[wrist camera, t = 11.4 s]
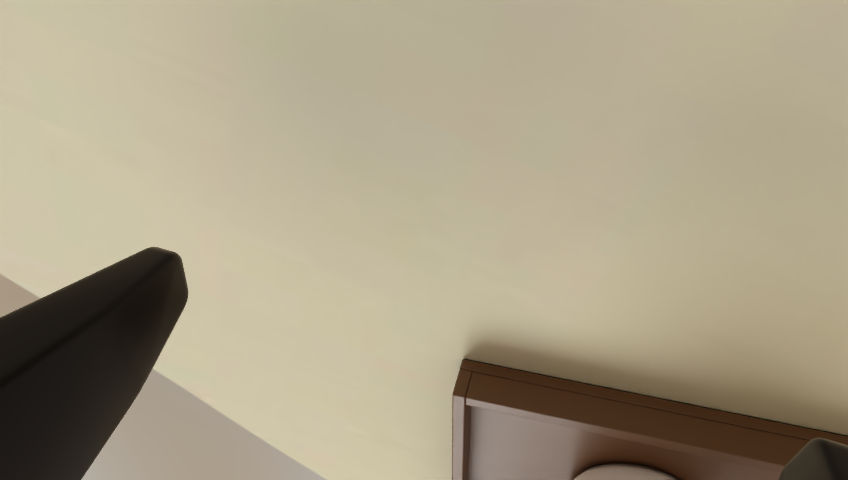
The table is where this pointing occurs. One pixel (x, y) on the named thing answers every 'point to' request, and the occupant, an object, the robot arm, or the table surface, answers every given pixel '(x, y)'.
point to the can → (623, 473)
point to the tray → (604, 432)
